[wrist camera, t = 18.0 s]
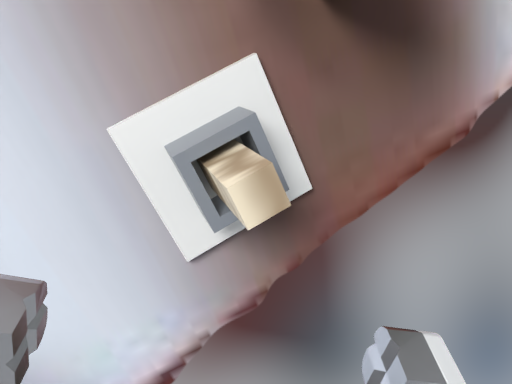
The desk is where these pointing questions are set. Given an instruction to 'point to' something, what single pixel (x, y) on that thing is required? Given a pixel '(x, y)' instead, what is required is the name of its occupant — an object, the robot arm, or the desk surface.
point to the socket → (206, 150)
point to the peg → (244, 182)
